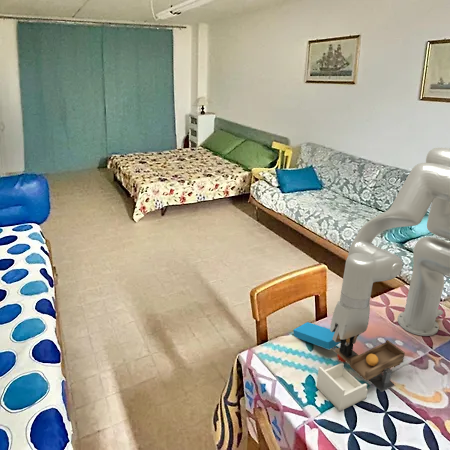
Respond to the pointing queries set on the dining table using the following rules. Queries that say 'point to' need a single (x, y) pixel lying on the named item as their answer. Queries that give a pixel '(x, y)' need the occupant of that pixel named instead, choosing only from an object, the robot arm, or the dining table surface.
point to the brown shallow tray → (386, 359)
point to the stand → (382, 380)
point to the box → (340, 387)
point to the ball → (372, 359)
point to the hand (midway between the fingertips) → (345, 353)
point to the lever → (317, 336)
